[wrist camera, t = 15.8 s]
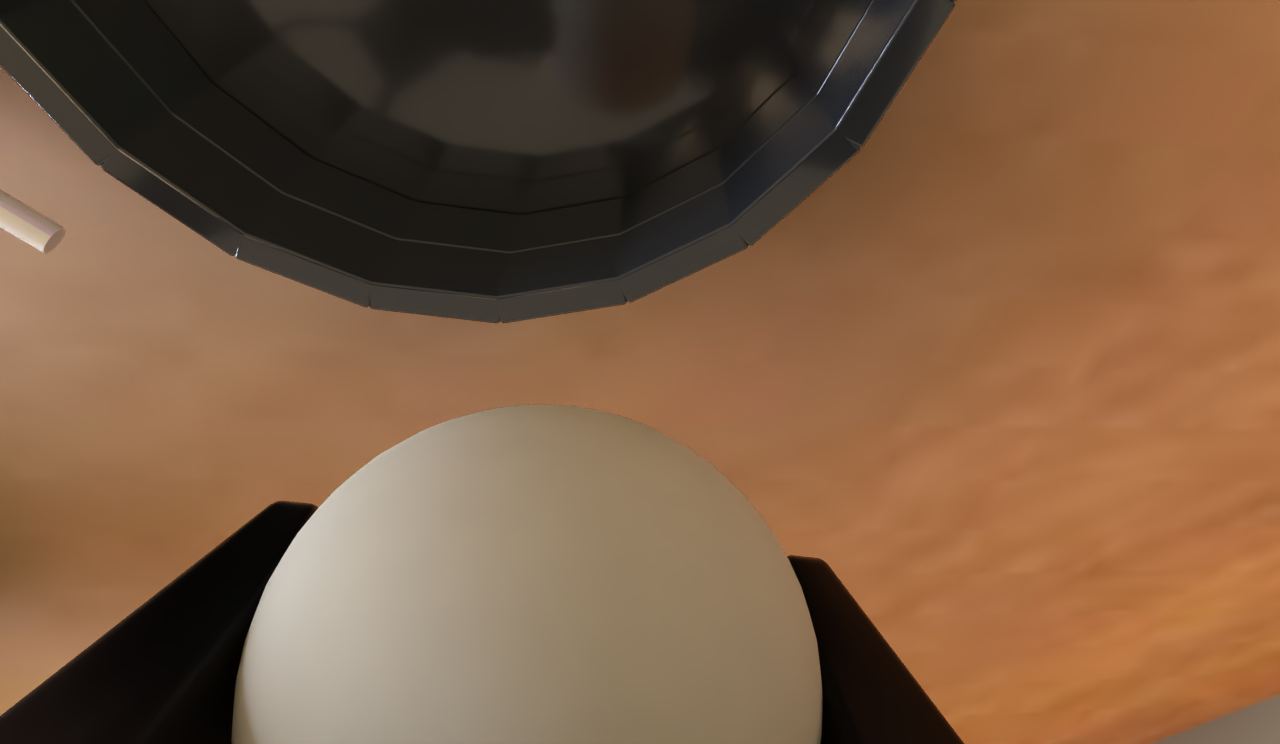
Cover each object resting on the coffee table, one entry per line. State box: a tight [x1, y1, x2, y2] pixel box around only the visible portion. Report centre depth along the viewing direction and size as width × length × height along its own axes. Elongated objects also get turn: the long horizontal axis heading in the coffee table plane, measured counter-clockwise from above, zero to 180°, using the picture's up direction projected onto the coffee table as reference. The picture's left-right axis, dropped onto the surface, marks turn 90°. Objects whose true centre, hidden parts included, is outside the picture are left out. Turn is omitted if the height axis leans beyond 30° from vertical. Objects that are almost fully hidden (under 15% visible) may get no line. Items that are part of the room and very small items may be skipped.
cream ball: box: [231, 404, 823, 744], centre depth 7 cm, size 5×5×5 cm
